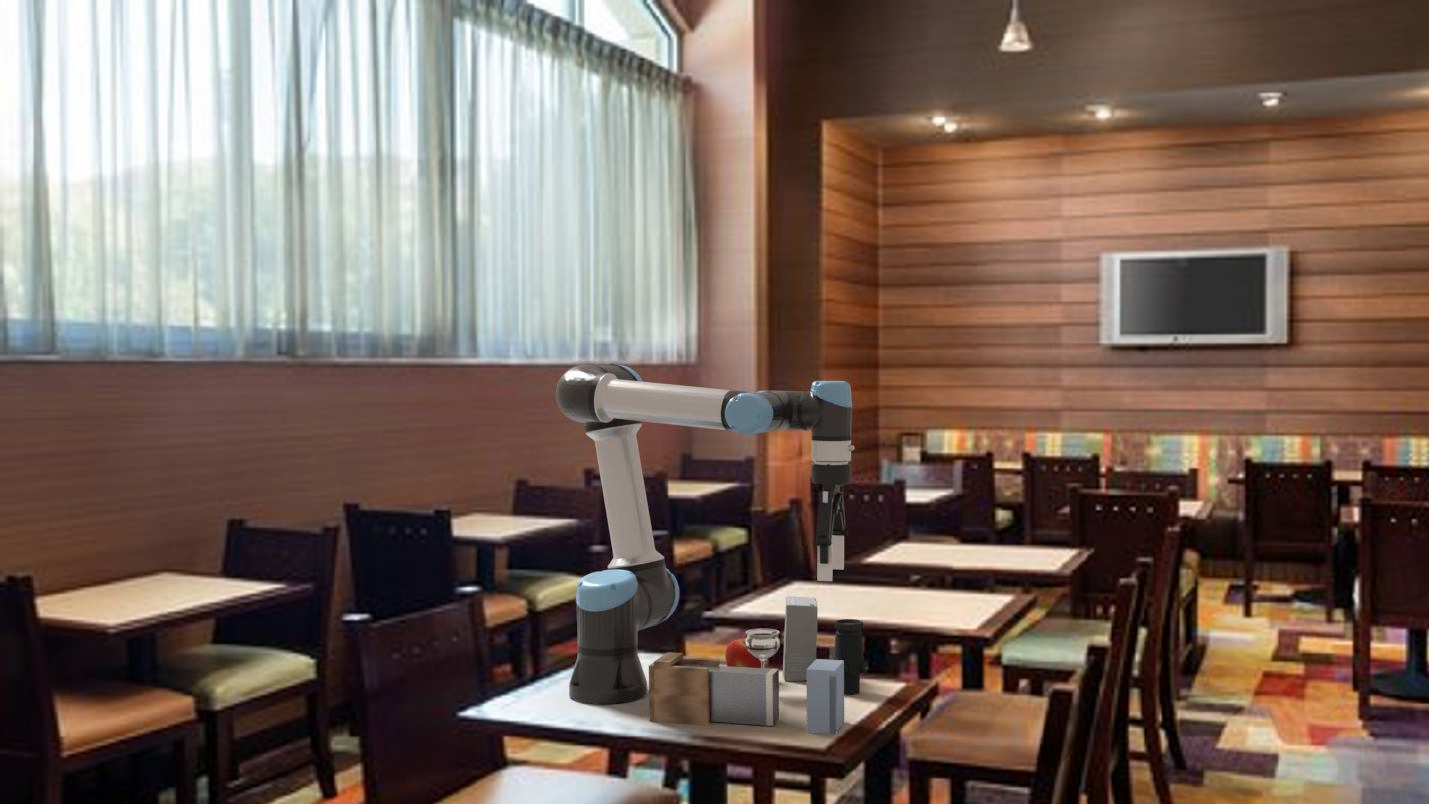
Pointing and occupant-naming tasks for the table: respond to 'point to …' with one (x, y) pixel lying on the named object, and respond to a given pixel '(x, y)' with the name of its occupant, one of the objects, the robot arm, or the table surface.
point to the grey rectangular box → (742, 694)
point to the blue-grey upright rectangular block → (825, 696)
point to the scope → (850, 653)
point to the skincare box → (799, 637)
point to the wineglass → (762, 643)
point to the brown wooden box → (679, 689)
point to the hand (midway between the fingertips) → (830, 575)
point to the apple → (740, 655)
